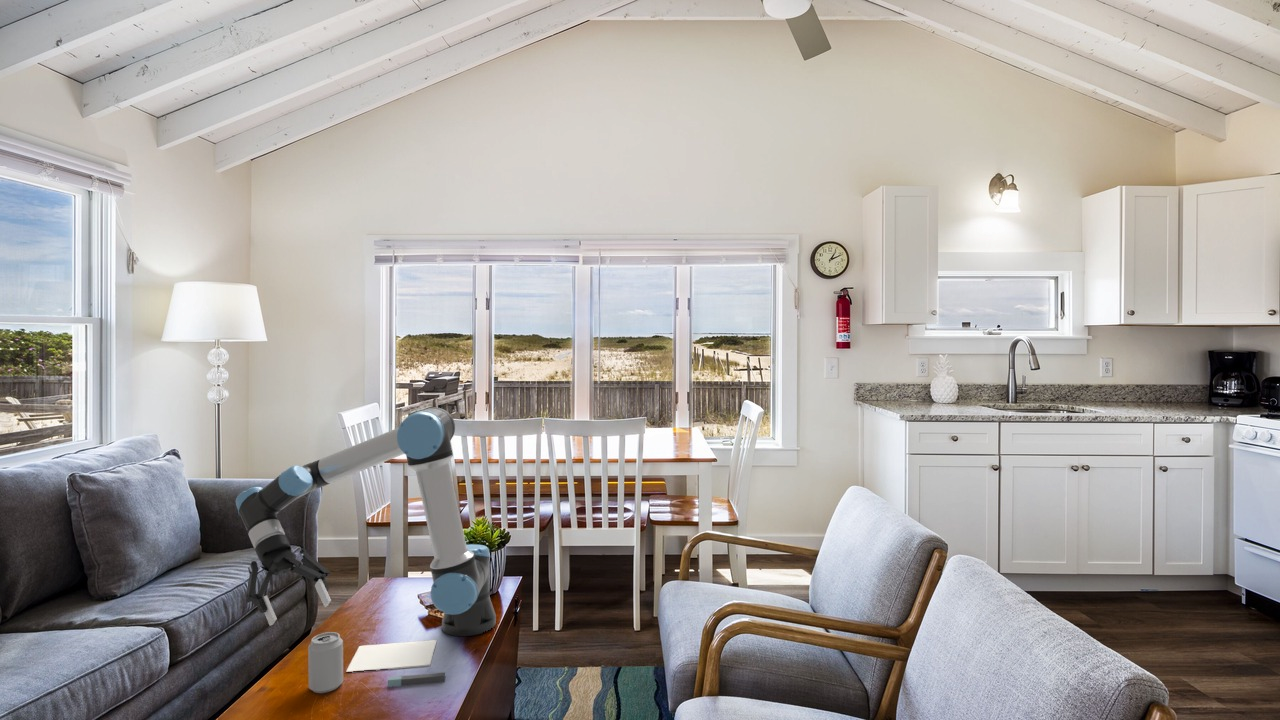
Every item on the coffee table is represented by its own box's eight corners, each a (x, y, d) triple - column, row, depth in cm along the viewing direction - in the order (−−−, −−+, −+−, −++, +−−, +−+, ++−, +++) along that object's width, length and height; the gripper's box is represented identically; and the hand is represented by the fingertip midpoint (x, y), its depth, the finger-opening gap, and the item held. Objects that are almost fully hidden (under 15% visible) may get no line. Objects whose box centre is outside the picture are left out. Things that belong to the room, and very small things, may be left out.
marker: (445, 678, 161) (445, 671, 161) (444, 682, 160) (444, 675, 159) (389, 683, 159) (389, 676, 159) (387, 687, 157) (387, 680, 157)
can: (334, 675, 163) (333, 627, 162) (349, 685, 158) (348, 635, 158) (302, 687, 157) (302, 637, 157) (317, 698, 152) (317, 647, 152)
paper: (436, 641, 181) (436, 639, 181) (429, 666, 167) (429, 664, 167) (359, 647, 178) (359, 645, 178) (346, 673, 164) (346, 671, 164)
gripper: (311, 538, 183) (342, 604, 175) (212, 563, 162) (242, 639, 154) (322, 522, 180) (354, 589, 172) (222, 545, 159) (253, 622, 151)
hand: (301, 612), depth 163 cm, fingers open, 13 cm apart
